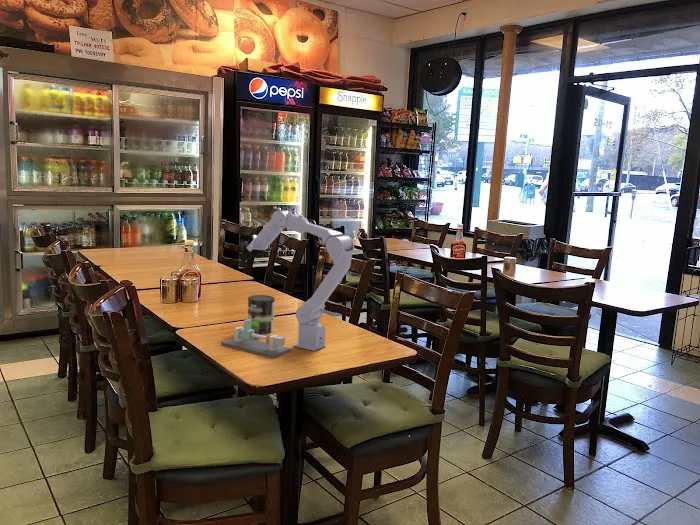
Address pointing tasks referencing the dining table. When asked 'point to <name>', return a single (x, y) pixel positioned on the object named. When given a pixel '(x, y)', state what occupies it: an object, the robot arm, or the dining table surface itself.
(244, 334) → the sleeve
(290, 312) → the dining table surface
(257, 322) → the coffee can
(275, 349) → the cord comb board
